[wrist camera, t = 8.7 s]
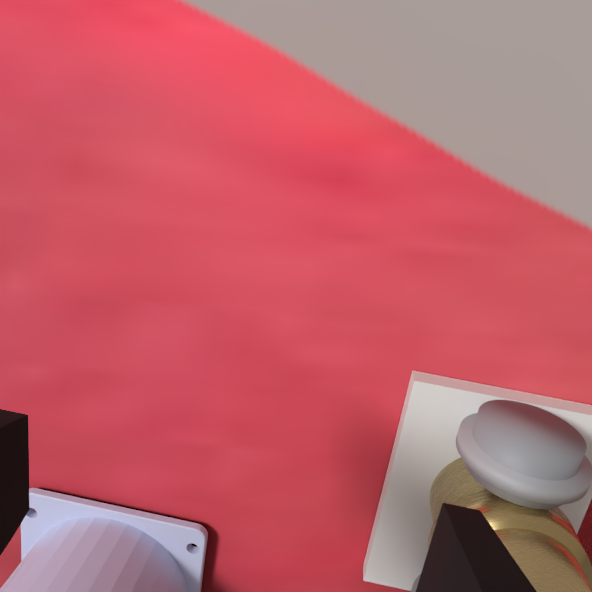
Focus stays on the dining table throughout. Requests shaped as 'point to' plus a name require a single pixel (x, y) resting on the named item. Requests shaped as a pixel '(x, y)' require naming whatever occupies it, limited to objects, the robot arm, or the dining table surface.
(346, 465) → the dining table surface
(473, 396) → the fitting
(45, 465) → the dining table surface
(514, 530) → the cylinder
